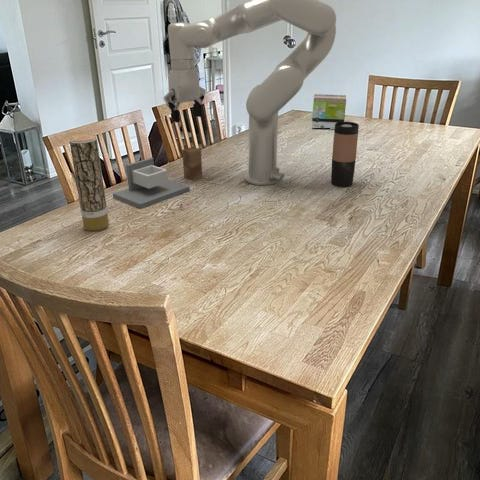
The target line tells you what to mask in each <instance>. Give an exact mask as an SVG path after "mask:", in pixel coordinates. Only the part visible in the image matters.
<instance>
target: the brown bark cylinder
mask: <svg viewBox="0 0 480 480" xmlns="http://www.w3.org/2000/svg"><path fill="white" fill-rule="evenodd" d="M68 140H69V146H70V152H71V153H70V154H71V159H72V164H73V172H74V176H75V183H76V188H77V189H76V190H77V195H78V201H79V206H80V213H81V219H82V225H83V228H84V229H85V230H87V231H89V232H90V231H91V232H99V231H102V230H105V229H107V228H108V227H109V225H110V224H109V216H108V207H107V200H106V194H105V193H106V192H105V187H104V186H105V185H104V179H103V178H104V177H103V172H102V164H101V159H100V150H99V144H98V143H99V142H98V138H97V135H94V134H91V133H90V134H87V133H86V134H76V135H73V136H71V137H69V139H68ZM98 230H99V231H98Z"/></svg>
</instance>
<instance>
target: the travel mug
mask: <svg viewBox="0 0 480 480" xmlns="http://www.w3.org/2000/svg"><path fill="white" fill-rule="evenodd" d="M359 127H360V126H359V124H358V123H356V122H352V121H344V122H338V123H336V124H335V130H333V131H334V132H333V144H332V155H331V171H330V173H331V177H330V178H331V179H330V183H331V185H332V186H334V187H336V186H337V188H349V187H351V186H353V183H354V177H355V169H356V168H355V167H356V162H357V161H356V159H357V148H358V139H359V138H358V137H359V129H360V128H359Z"/></svg>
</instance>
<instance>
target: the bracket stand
mask: <svg viewBox="0 0 480 480" xmlns="http://www.w3.org/2000/svg"><path fill="white" fill-rule="evenodd" d="M154 159H155V158H154V157H148V158H145V159H142V160H139V161H135V162H132V163H128V164H126V165H125V166H126V167H125V168H126V174H127V183H128V187H127V188H125V189H121V190H118V191H116V192H113V193H112V198H113V199H115V200H118V201H121V202H122V203H125V204H127V205H131V207H135V208H137V209H140V210H141V209H144V208H147V207H149V206H152V205H154V204H155V205H156V204H158V203H160V202H163V201H167V200H168V199H171V198H174V197H177V196H180V195H183V194H186V193H188V192H190V191H191V190H190V186H189V185H186V184H182V183H181V182H176V181H173V180H170V179H169V171H168V169H167V168H162V167H159V166H156V165H155V160H154Z"/></svg>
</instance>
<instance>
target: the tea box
mask: <svg viewBox="0 0 480 480" xmlns="http://www.w3.org/2000/svg"><path fill="white" fill-rule="evenodd" d="M346 106H347V96H346V95H345V94H339V95H338V94H319V93H318V94H317V93H315V94H314V97H313V106H312V117H311V129H312V128H331V129H330V130H332V129H335V124H336V123H338V122H345V119H346V118H345V116H346Z"/></svg>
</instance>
